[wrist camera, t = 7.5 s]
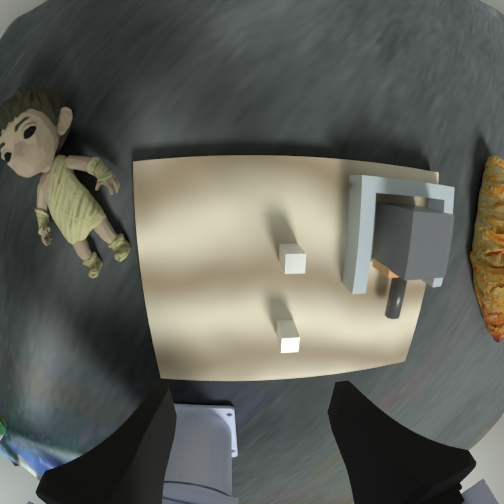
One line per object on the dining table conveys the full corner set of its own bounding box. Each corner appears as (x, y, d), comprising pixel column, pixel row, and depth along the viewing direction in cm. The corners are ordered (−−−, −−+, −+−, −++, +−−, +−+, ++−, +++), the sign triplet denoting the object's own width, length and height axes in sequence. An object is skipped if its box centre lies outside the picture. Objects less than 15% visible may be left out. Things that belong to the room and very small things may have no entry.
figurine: (63, 310, 15) (-36, 138, 9) (92, 266, 21) (12, 129, 14) (144, 261, 15) (31, 54, 8) (161, 222, 20) (75, 68, 14)
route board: (400, 355, 22) (404, 361, 21) (163, 371, 21) (161, 378, 20) (430, 172, 18) (438, 172, 17) (138, 162, 17) (133, 161, 16)
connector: (401, 304, 20) (431, 331, 15) (363, 308, 19) (390, 339, 15) (416, 205, 17) (455, 215, 13) (376, 202, 17) (412, 211, 13)
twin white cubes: (292, 333, 20) (298, 351, 17) (276, 334, 20) (280, 353, 17) (297, 243, 18) (306, 253, 15) (279, 243, 18) (285, 253, 15)
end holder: (427, 277, 19) (441, 286, 17) (342, 282, 19) (352, 294, 17) (438, 185, 17) (454, 187, 15) (349, 174, 17) (362, 175, 15)
